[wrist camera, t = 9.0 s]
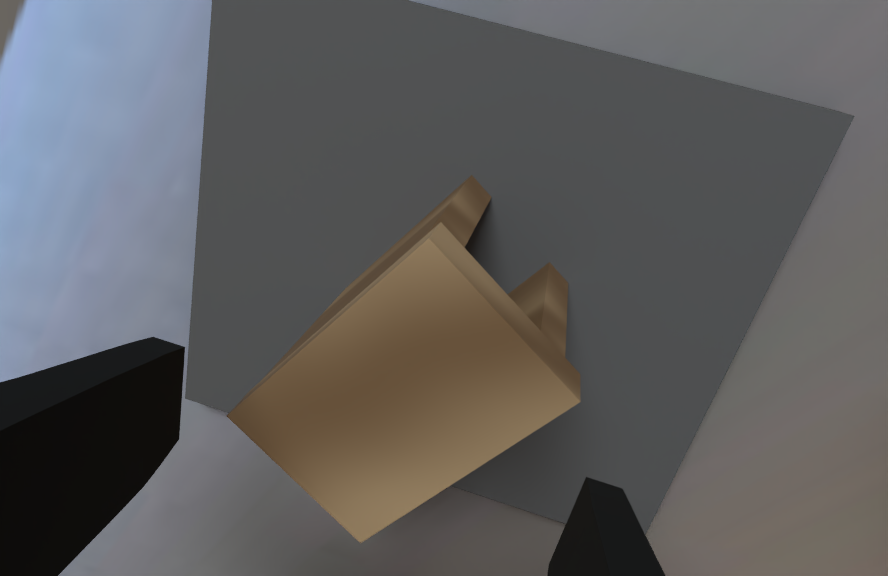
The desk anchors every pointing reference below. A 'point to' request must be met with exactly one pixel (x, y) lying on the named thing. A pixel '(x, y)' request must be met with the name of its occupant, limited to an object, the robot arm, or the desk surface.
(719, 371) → the charcoal mat
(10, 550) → the robot arm
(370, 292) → the oak stool
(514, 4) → the desk surface
